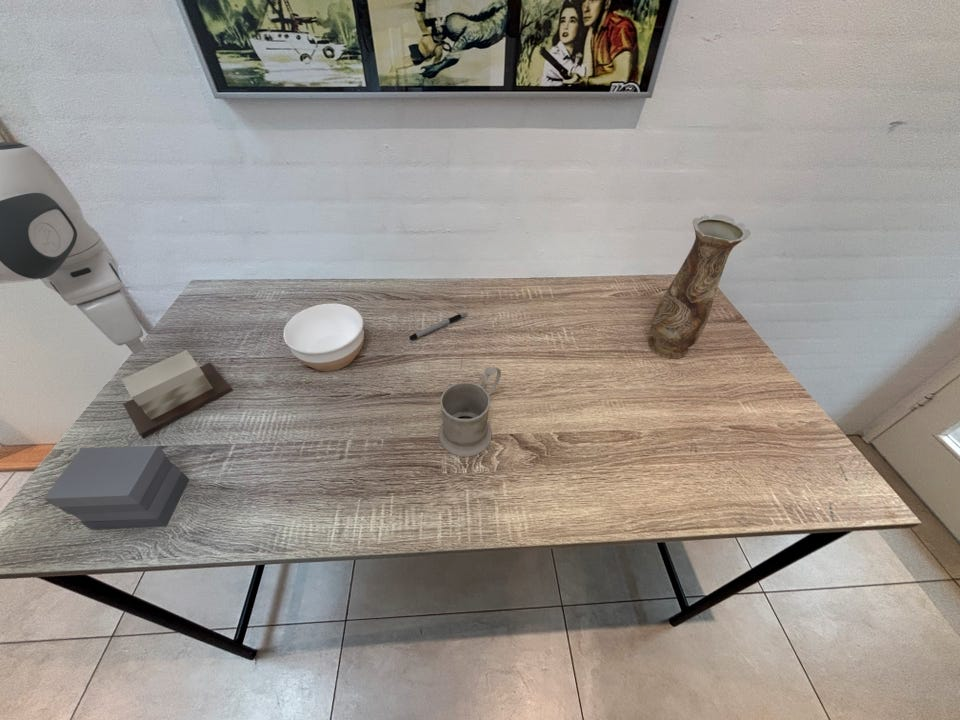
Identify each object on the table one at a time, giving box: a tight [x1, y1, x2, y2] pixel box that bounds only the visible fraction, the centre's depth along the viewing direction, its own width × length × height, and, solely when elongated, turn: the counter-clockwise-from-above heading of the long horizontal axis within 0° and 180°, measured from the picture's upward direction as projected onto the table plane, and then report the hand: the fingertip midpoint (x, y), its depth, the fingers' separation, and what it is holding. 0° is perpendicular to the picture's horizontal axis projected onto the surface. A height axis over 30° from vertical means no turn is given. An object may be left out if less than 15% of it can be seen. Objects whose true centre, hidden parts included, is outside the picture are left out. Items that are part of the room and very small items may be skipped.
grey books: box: [43, 445, 190, 531], centre depth 62 cm, size 11×8×10 cm
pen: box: [409, 311, 468, 341], centre depth 97 cm, size 1×16×1 cm, turn 127°
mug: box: [438, 366, 502, 458], centre depth 73 cm, size 14×10×12 cm
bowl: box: [282, 303, 365, 372], centre depth 88 cm, size 16×16×8 cm
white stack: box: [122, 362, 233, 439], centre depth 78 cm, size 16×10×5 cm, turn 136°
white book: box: [121, 349, 204, 406], centre depth 76 cm, size 11×6×2 cm, turn 136°
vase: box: [647, 214, 751, 360], centre depth 85 cm, size 10×11×30 cm
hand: (129, 336), depth 69 cm, fingers open, 8 cm apart
